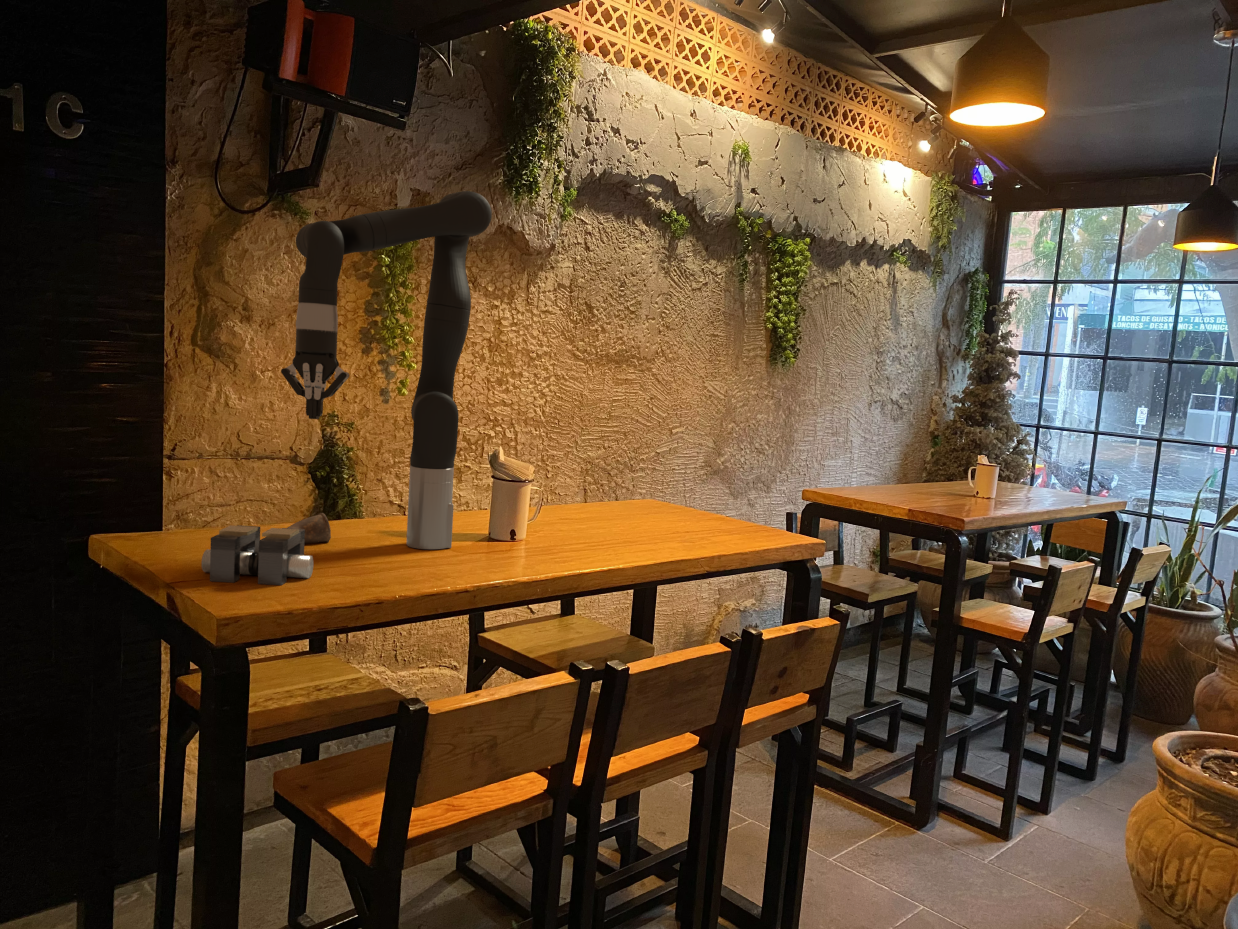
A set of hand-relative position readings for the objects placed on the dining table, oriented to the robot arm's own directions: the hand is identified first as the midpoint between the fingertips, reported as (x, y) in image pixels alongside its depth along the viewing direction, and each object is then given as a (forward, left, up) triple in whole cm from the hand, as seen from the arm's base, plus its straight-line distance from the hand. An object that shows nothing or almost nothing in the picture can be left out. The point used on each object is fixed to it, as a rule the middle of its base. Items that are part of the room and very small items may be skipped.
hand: (313, 418), depth 170 cm
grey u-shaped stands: (+8, +16, -27) cm, 32 cm away
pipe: (+1, -9, -28) cm, 29 cm away
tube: (+8, +16, -27) cm, 32 cm away
